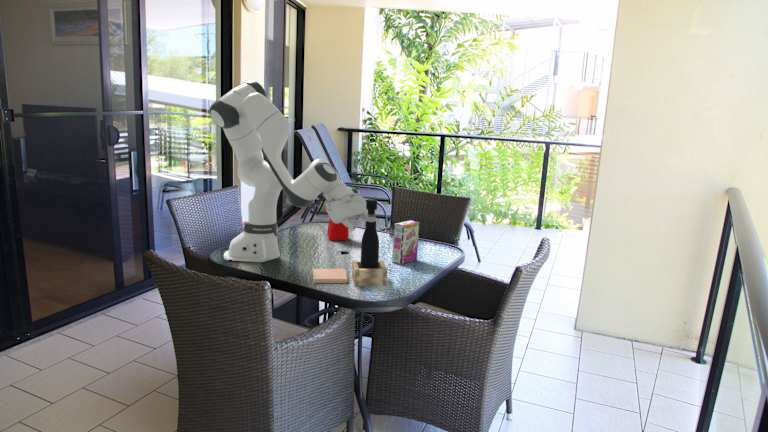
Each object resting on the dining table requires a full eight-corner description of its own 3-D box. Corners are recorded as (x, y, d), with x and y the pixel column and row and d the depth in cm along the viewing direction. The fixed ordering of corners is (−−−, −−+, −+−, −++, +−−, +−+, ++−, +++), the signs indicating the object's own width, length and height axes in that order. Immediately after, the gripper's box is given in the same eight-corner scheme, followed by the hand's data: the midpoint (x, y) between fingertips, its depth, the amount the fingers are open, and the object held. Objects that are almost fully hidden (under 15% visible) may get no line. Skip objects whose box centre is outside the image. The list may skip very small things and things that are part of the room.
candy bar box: (401, 265, 232) (403, 225, 229) (391, 262, 235) (393, 223, 232) (417, 260, 241) (420, 221, 237) (408, 257, 244) (410, 219, 240)
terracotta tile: (313, 283, 206) (313, 279, 206) (313, 272, 218) (313, 269, 217) (347, 282, 208) (347, 278, 208) (344, 272, 219) (344, 268, 219)
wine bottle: (377, 278, 214) (380, 198, 208) (377, 284, 208) (381, 202, 202) (360, 277, 214) (362, 198, 208) (359, 283, 208) (362, 201, 202)
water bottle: (322, 237, 272) (323, 184, 267) (345, 236, 276) (346, 184, 271) (326, 241, 264) (327, 187, 259) (349, 241, 267) (351, 187, 262)
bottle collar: (354, 286, 205) (355, 269, 203) (351, 276, 216) (352, 260, 214) (386, 285, 206) (387, 269, 205) (382, 275, 217) (382, 260, 216)
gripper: (327, 195, 201) (349, 227, 198) (360, 189, 218) (381, 218, 215) (317, 206, 204) (338, 237, 201) (350, 199, 221) (371, 228, 218)
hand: (361, 227), depth 208 cm, fingers open, 8 cm apart
